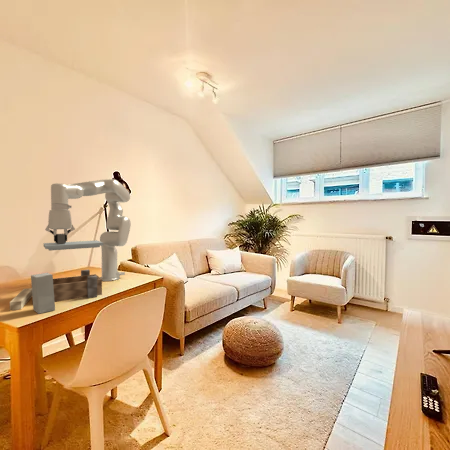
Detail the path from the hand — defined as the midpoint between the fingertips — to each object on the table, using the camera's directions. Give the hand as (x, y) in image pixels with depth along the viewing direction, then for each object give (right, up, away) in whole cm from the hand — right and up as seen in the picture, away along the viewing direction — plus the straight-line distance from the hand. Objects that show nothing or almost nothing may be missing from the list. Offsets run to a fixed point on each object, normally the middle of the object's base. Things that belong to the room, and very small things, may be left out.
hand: (60, 242), depth 136 cm
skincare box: (+7, -28, -23) cm, 37 cm away
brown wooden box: (+6, -28, 0) cm, 28 cm away
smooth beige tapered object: (-10, -28, -12) cm, 32 cm away
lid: (+5, -3, +4) cm, 7 cm away
